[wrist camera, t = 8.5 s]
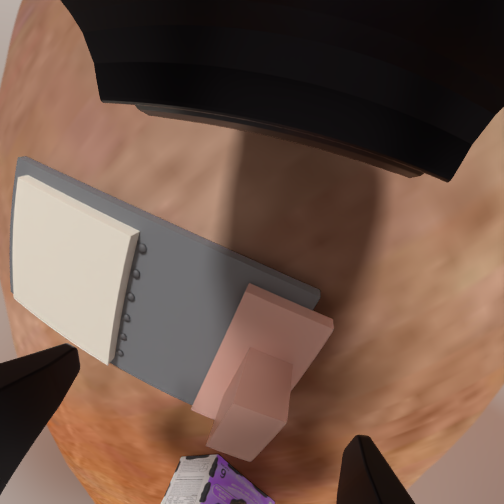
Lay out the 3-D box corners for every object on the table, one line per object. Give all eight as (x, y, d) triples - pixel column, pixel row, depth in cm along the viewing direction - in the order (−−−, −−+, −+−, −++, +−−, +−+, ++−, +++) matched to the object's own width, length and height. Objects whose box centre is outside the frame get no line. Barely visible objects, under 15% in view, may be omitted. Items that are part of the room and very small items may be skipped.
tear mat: (320, 290, 19) (320, 297, 18) (241, 416, 24) (238, 424, 23) (25, 156, 20) (17, 157, 19) (17, 287, 24) (10, 291, 23)
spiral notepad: (150, 236, 19) (141, 241, 17) (122, 361, 23) (115, 370, 22) (28, 174, 19) (17, 177, 18) (21, 293, 23) (13, 298, 22)
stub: (332, 319, 18) (340, 386, 12) (258, 424, 22) (245, 484, 17) (249, 282, 18) (224, 341, 13) (194, 399, 23) (169, 456, 17)
